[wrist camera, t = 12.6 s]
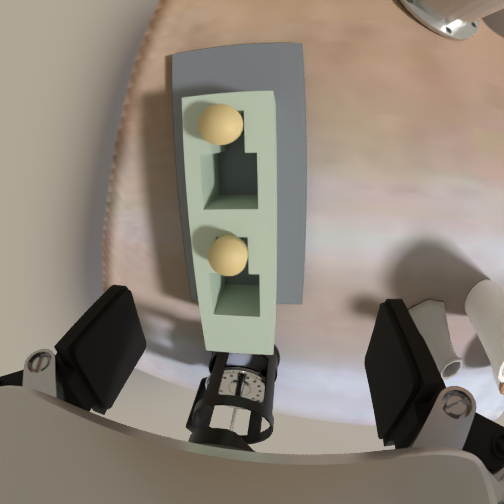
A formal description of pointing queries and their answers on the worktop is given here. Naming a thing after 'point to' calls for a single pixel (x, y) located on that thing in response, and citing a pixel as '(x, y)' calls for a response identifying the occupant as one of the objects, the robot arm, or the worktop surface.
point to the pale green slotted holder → (234, 225)
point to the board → (245, 164)
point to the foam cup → (488, 321)
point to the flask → (436, 336)
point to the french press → (234, 402)
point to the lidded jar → (499, 383)
